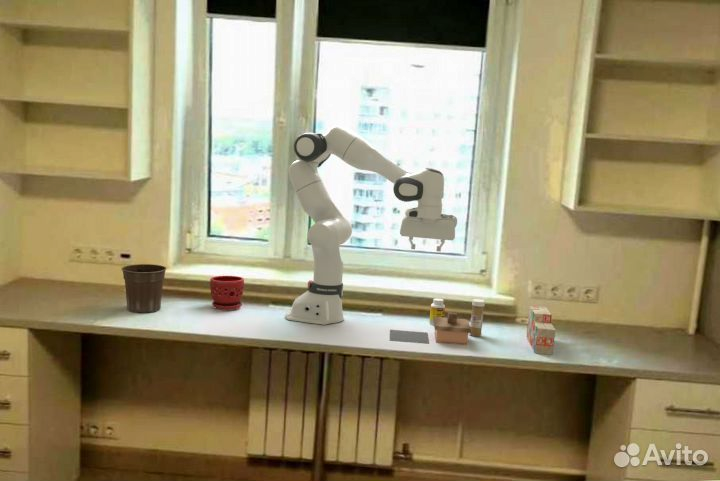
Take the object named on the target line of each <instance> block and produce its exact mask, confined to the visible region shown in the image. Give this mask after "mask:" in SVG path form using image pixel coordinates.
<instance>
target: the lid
mask: <svg viewBox="0 0 720 481" xmlns="http://www.w3.org/2000/svg"><path fill="white" fill-rule="evenodd" d="M433 322H434V326H433V327H434V331H435V330H440V331H453V332H466V333H468V334H469V333H471V327H470V322H469V320H468V318H467V319H465V318H458V313H457V312H453V311H448V312H447V317H444V318H442V317H434V318H433Z"/></svg>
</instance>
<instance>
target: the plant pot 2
mask: <svg viewBox="0 0 720 481" xmlns="http://www.w3.org/2000/svg"><path fill="white" fill-rule="evenodd" d="M209 285H210V286H209V287H210V294H211V298H212V303H211V305H212V306H213V308H215V309H217V310H222V311H233V310H235V311H236V310H237V309H239V308H240V307H242V305H243V303H242V301H241V300H242V297H243V294H244V286H245V278H244V277H242V276H237V275H216V276H211V277H210V282H209Z"/></svg>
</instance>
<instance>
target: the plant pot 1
mask: <svg viewBox="0 0 720 481" xmlns="http://www.w3.org/2000/svg"><path fill="white" fill-rule="evenodd" d="M121 271H122V273H123V280H124V286H125V298H126V299H125V300H126V309H127V311H128V312H131V313H135V314H136V313H138V312H140V313H141V314H147V313H148V314H150V313H155V312H157V311H160V309H161V307H162V296H163V288H164V286H163V284H164V280H165V276H166V271H167V266H164V265H160V264H152V263H151V264H150V263H141V264H140V263H138V264H129V265H124V266H122V267H121Z"/></svg>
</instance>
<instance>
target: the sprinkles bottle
mask: <svg viewBox="0 0 720 481" xmlns="http://www.w3.org/2000/svg"><path fill="white" fill-rule="evenodd" d="M471 305H472V308H471V315H470V316H471V317H470V322H469V325H470V327H471V333H468V335H470V336H472V337H477V338H478V337H481V336H482V329H483V322H484V321H483V320H484V309H485V306H486V305H485V300H484V299H480V298H474V299H473V298H472V303H471Z"/></svg>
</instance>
